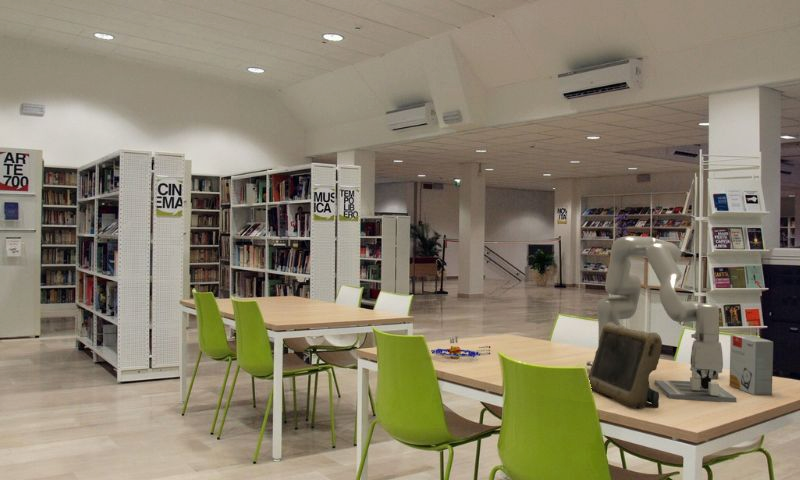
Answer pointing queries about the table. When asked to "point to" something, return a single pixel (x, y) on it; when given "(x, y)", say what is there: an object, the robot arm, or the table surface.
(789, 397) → the table surface
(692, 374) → the breaker
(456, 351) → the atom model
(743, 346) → the hard drive box
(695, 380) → the block
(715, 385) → the breaker
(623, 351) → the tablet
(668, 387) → the panel
